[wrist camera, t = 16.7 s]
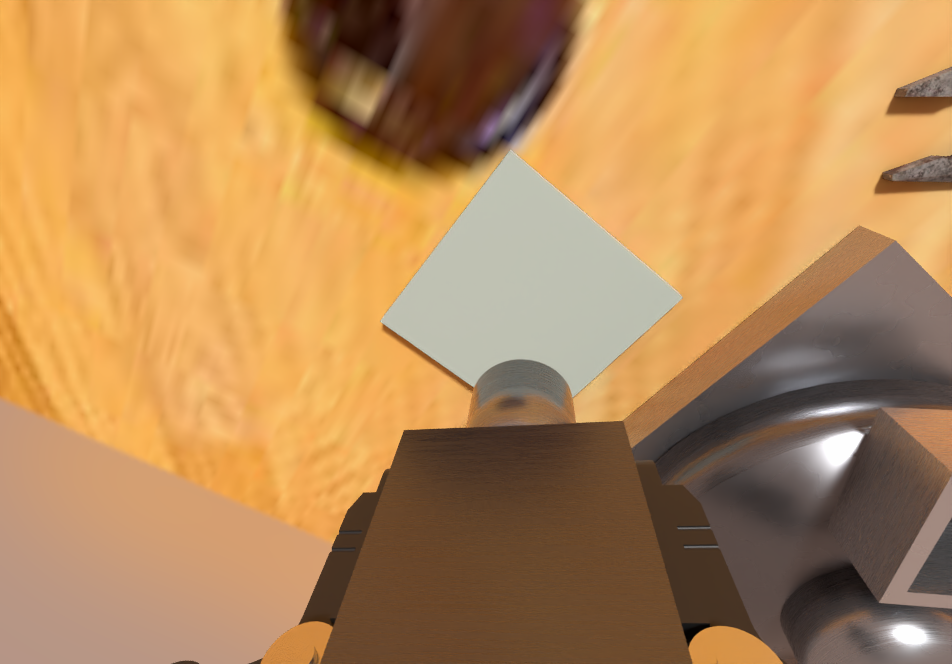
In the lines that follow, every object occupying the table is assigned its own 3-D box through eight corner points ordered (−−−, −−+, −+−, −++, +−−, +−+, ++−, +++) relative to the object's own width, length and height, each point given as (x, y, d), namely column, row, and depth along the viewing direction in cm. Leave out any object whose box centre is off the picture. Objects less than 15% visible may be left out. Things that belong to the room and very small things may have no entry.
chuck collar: (643, 353, 19) (729, 549, 11) (1193, 374, 17) (1785, 626, 9) (593, 653, 28) (619, 882, 20) (952, 686, 26) (1142, 953, 18)
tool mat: (510, 149, 18) (510, 151, 17) (678, 292, 20) (683, 297, 19) (383, 315, 22) (380, 321, 21) (535, 423, 24) (535, 431, 23)
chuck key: (436, 341, 14) (308, 695, 6) (597, 330, 13) (706, 712, 5) (458, 462, 16) (386, 851, 8) (599, 458, 15) (680, 876, 7)
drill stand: (859, 225, 18) (895, 240, 16) (1140, 507, 22) (1193, 543, 21) (505, 517, 27) (504, 548, 25) (758, 680, 31) (772, 716, 29)
